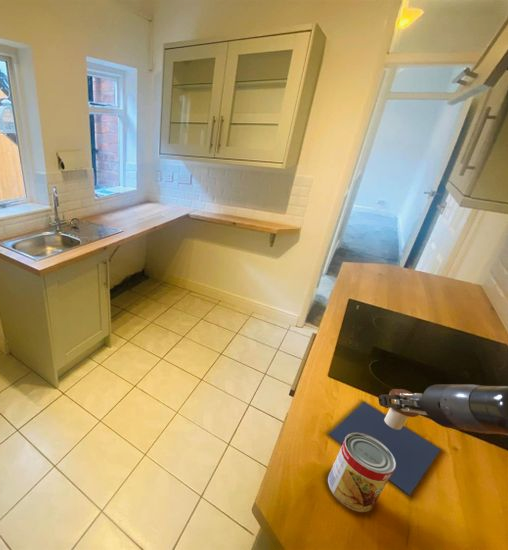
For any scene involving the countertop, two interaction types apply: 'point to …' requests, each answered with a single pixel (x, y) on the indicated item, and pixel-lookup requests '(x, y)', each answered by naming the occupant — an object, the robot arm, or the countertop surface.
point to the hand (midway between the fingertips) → (395, 402)
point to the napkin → (391, 444)
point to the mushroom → (398, 412)
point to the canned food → (360, 471)
